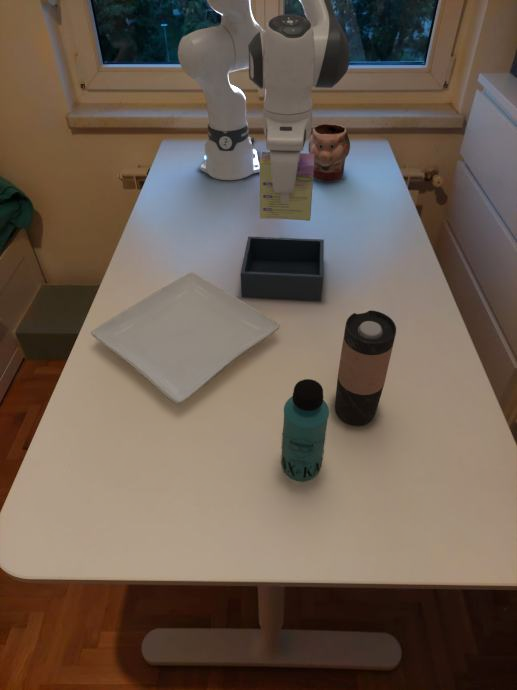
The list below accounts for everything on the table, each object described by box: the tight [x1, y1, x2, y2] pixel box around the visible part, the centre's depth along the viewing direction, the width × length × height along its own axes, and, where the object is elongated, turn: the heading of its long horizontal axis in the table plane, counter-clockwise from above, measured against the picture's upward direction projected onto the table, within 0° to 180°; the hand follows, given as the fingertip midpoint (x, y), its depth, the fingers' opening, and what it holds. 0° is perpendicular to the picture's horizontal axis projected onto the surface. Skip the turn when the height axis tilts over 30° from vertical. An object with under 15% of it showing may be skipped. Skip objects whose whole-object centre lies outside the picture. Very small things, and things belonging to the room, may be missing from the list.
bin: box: [240, 236, 325, 303], centre depth 114 cm, size 15×18×7 cm
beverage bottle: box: [279, 378, 330, 483], centre depth 73 cm, size 6×7×20 cm
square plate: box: [90, 272, 281, 405], centre depth 100 cm, size 27×27×4 cm
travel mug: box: [334, 309, 397, 427], centre depth 81 cm, size 8×8×20 cm
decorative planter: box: [307, 123, 351, 183], centre depth 149 cm, size 20×12×14 cm, turn 173°
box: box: [259, 151, 314, 222], centre depth 100 cm, size 10×6×12 cm, turn 84°
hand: (285, 192), depth 101 cm, fingers closed on box, 5 cm apart
